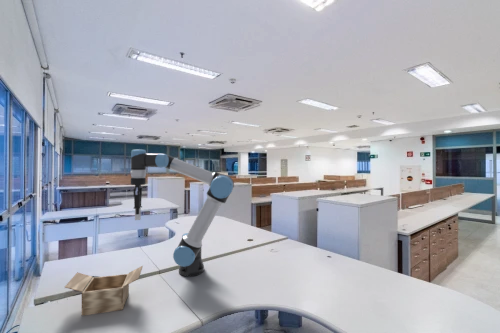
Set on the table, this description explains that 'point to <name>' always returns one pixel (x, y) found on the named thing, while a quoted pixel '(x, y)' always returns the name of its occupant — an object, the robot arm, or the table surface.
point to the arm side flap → (133, 276)
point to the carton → (105, 294)
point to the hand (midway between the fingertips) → (137, 219)
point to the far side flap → (78, 282)
